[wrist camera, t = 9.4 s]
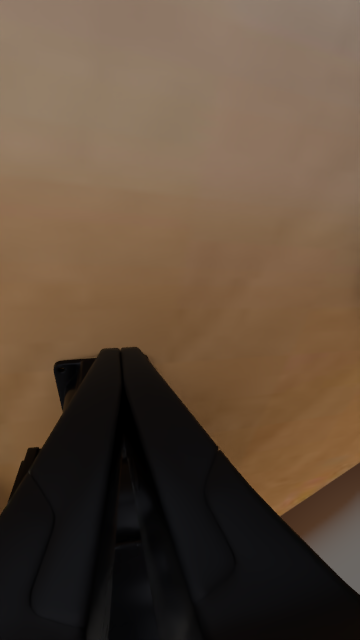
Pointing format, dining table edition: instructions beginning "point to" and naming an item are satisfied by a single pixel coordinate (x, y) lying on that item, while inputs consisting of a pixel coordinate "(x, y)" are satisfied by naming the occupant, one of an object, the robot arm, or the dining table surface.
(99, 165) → the dining table surface
